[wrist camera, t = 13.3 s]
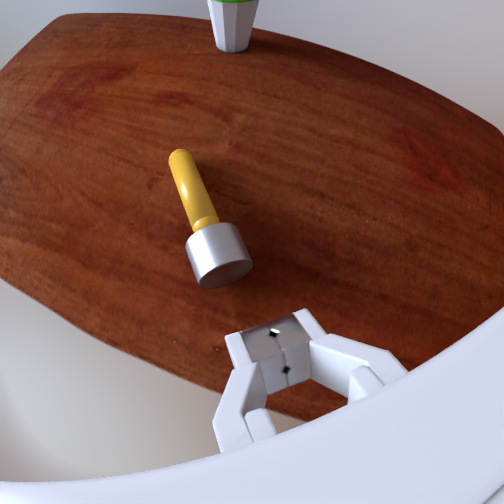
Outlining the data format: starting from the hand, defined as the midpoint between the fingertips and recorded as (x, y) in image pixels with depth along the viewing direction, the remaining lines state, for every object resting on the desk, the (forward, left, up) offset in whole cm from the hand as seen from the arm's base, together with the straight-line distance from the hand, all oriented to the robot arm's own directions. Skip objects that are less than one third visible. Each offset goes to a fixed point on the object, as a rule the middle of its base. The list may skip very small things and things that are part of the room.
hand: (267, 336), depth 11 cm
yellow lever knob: (+4, -4, -13) cm, 15 cm away
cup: (+22, -34, -16) cm, 44 cm away
